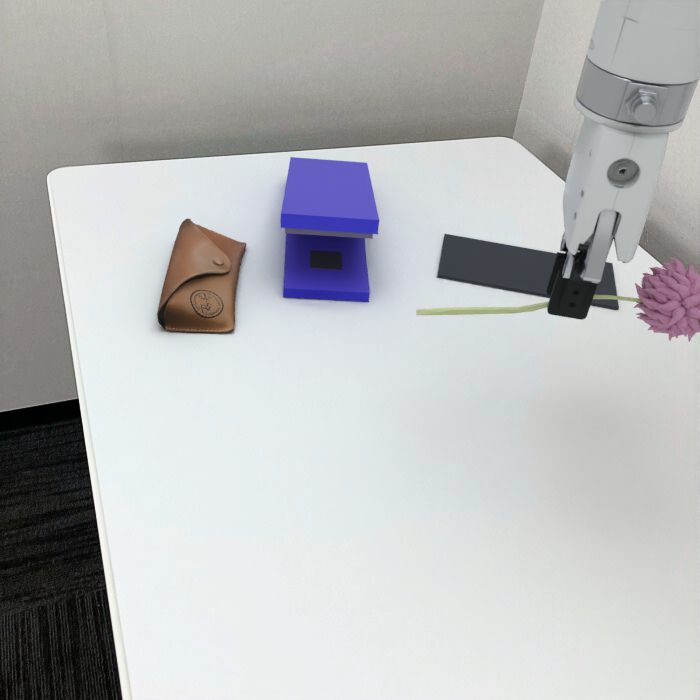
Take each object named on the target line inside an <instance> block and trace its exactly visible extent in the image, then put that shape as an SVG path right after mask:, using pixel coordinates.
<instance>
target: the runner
mask: <svg viewBox="0 0 700 700" xmlns="http://www.w3.org/2000/svg"><path fill="white" fill-rule="evenodd" d="M556 254H557V252H550V251H546V250H540V249H535V248H528V247H523V246H517V245H511V244H506V243H500V242H494V241H489V240H485V239H478V238H472V237H466V236H460V235H455V234H449V233H444V235H443V241H442V247H441V252H440V257H439V263H438V270H437V276H436V277H437V278H439V279H445V280H450V281H456V282H460V283H461V282H462V283H467V284H472V285H478V286H483V287H490V288H493V289H494V288H495V289H499V290H505V291H511V292H515V293H516V292H517V293H521V294H528V295H532V296H539V297H545V298H549V299H550V295H548V294H547V285H548V281H549V278H550V275H551V271H552V268H553V265H554V261H555V258H556ZM615 278H616V277H615V271H614V264H613V262H608V261H606V262H605V266H604V271H603V275H602V279H601V281H600V283H598V285H597V288H596V291H595V294H594V295H612V296H618V292H617V285H616V279H615ZM619 305H620V304H619V300H614V299H593V300H592V303H591V306H593V307H598V308H599V307H600V308H605V309H611V310H616V311H619V309H620V306H619Z"/></svg>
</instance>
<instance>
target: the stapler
mask: <svg viewBox="0 0 700 700" xmlns="http://www.w3.org/2000/svg"><path fill="white" fill-rule="evenodd" d="M287 169H288V170H287V174H286V175H287V176H286V181H285V186H284V194H283V199H282V205H281V211H280V226H279V227H280V228H281V229H284V234H285V243H284V244H285V245H284V263H283V266H284V267H283V286H282V288H283V289H282V298H285V299H286V298H289V299H304V300H305V299H307V300H324V301H342V302H344V301H346V302H362V303H363V302H364V303H365V302H366V303H369V302H370V295H371V289H370V280H369V269H368V258H367V249H366V239H371V240H373V237H374V235H379V226H380V217H379V213H378V208H377V203H376V199H375V193H374V189H373V183H372V179H371V174H370V169H369V165H368V162H364V161H363V162H362V161H350V160H349V161H348V160H336V159H334V160H333V159H323V158H322V159H321V158H309V157H308V158H307V157H294V156H290V157H289V163H288V168H287Z"/></svg>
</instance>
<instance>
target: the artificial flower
mask: <svg viewBox="0 0 700 700" xmlns="http://www.w3.org/2000/svg"><path fill="white" fill-rule="evenodd" d="M670 259H671V260H672V261H670V262H668V261H662V264H663V265H662V266H661V267H659V266H654V267H649V270H650V271H651V272H652V274H651V273H649V272H642V273H641V274H642V275H643V276H642V278H641V279H642V280H640V282H641V286H640V285H639V284H638V283H636V282H634V285H635V290H636V294H637V297H631V296H623V295H622V296H621V295H617V296H612V295H594V297H593V299H614V300H618V301H622V302H623V301H625V302H633V303H636V305H634V306H633V309H636V308H638V309H640V310H641V311H643V312H638V313H635V315H636V316H637V317H636V318H637V319H638V320H641V321H643V322H644V323H645V324H647V325H649V327H648V328H647V330H648V331H652V332H653V333H654V334H655V333H656V334H665V335H666V334H667V335H668V341H669V342H671V340H672V338H675V339H678V338H679V336H682V335H683V336H684V337H687V340H688V343H690V342H691V340H692V338H693V337H694V336H695V335H696V334H697V333H700V274H699V273H698V268H697V267H696V268H694V263H693V261H691V262H690V264H689V267H688V269H687V270H686V267H685V266H684V264H683V263H682V262H681V261H679V260H678V259H677V258H676V257H670ZM548 303H549V301H544V302H543V301H542V302H539V303H533V304H527V305H523V306H522V305H521V306H505V307H504V306H453V307H436V308H417V309H416V310H415V311H416V316H467V315H469V316H470V315H471V316H473V315H510V314H512V315H513V314H521V313H531V312H534V311H539V310H543V309H547V306H548Z"/></svg>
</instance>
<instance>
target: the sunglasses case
mask: <svg viewBox="0 0 700 700" xmlns="http://www.w3.org/2000/svg"><path fill="white" fill-rule="evenodd" d="M246 249H247V243H246V242H244V241H243V242H241V241H238V240H236V239H232V238H231V237H229V236H227V235H224V234H221V233H219V232H216V231H214V230H213V229H209V228H208V227H204V226H202V225H200V224H197V223H194V222H193V221H192V219H191V218H185V219H184V220H183V221H182V222H181V223H180V226H179V228H178V232H177V234H176V238H175V240H174V244H173V247H172V250H171V254H170V258H169V262H168V265H167V270H166V274H165V277H164V281H163V284H162V289H161V294H160V298H159V301H158V302H159V303H158V309H157V314H156V318H157V322H158V324H159V325H160V326H161V327H162V329H164V330H165V331H167V332H179V333H186V334H187V333H188V334H226V333H230V332H233V331H234V330H235V328H236V297H237V296H236V295H237V288H238V280H239V275H240V269H241V266H242V260H243V257H244V254H245V251H246Z"/></svg>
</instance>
